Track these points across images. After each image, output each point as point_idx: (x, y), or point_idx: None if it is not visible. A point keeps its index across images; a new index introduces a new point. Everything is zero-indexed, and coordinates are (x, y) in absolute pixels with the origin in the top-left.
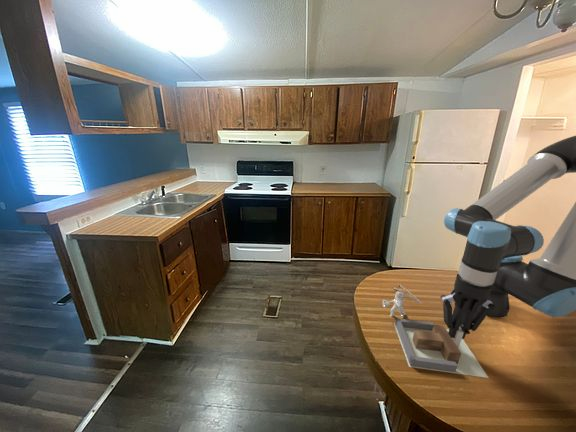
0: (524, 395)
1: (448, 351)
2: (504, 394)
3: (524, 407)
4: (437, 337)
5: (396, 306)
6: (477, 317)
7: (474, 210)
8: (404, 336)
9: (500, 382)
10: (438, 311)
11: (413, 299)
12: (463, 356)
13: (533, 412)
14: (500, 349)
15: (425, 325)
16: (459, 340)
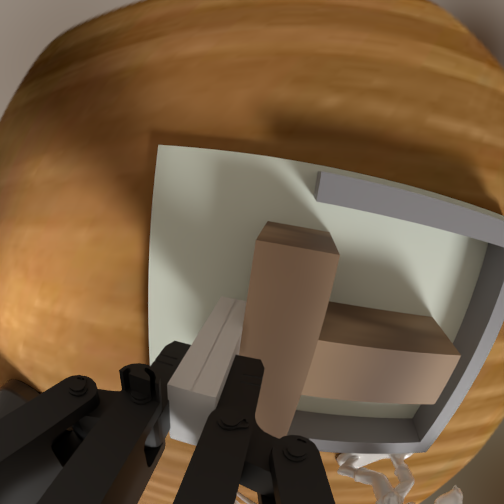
0: (81, 102)
1: (335, 264)
2: (144, 90)
3: (116, 55)
4: (337, 368)
5: (402, 499)
6: (3, 477)
7: None
8: (476, 367)
9: (120, 143)
10: (177, 456)
11: (245, 498)
12: (204, 264)
13: (103, 45)
14: (46, 290)
15: (307, 431)
16: (209, 334)
